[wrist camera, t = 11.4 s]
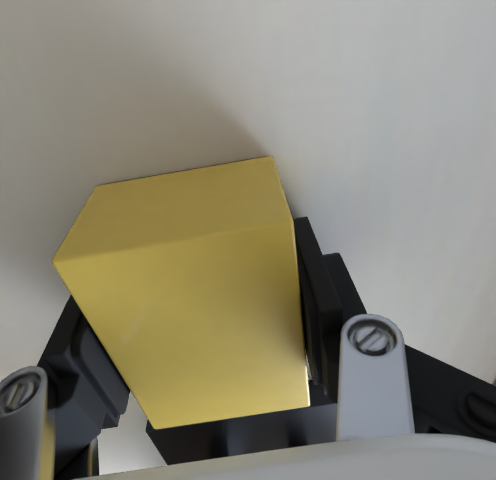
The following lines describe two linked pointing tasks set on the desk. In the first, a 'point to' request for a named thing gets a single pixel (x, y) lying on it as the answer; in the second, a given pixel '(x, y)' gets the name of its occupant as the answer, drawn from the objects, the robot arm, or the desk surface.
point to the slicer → (249, 432)
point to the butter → (194, 291)
